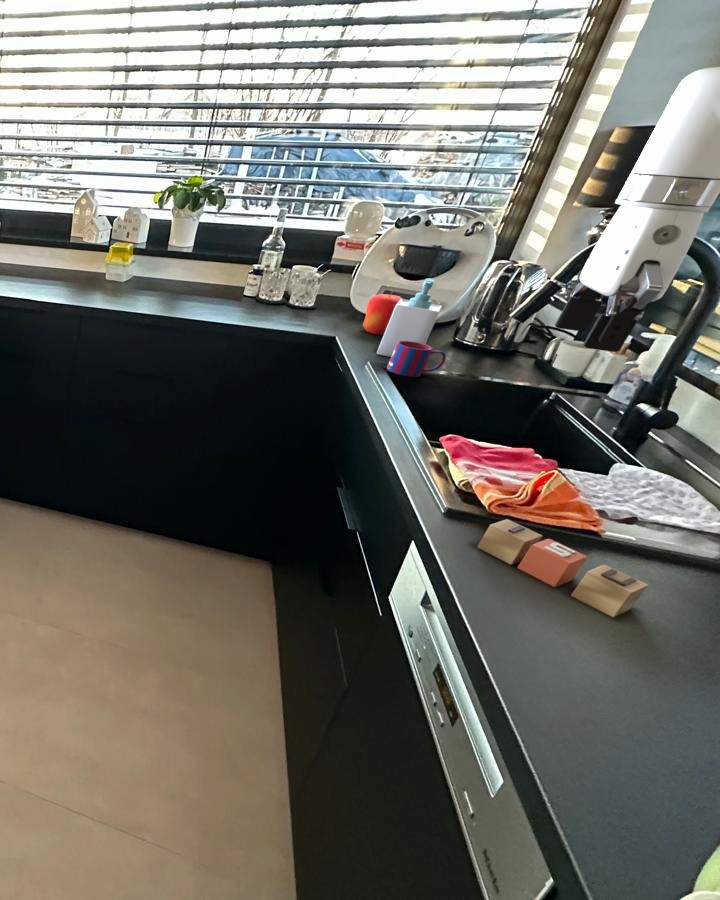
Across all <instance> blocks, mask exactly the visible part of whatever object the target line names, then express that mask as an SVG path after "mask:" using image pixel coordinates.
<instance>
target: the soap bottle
mask: <svg viewBox="0 0 720 900" xmlns="http://www.w3.org/2000/svg"><path fill="white" fill-rule="evenodd" d="M435 281H436V279H434V278H431V277H427V278H425V279H424V281H423V284H422V286H421V289H422V290H421V292H417V293H416V294H415V295H414V297H411V298H410V299H405V298H403V299H401V300H400V301H399V302H398V303H397V304H396V306H395V309H394V311H393V314H392V316H391V319H390V321H389V324H388V326H387V329H386V331H385V333H384V335H382V338H381V341H380V344H379V346H378V348H377V351H376V354H377V355H380V356H383V357H384V356H385V357H389V358H391V357H392V354H393V352H394V349H395V347H396V345H397V342H398V341H412V342H417V343H422V344H425V345H426V344H427V341H428V339H429V336H430V334H431V332H432V330H433V328H434V325H435V323H436V321H437V319H438V316H439V314H440V312H441V310H442V305H441V304H435V303H433V301H432V300H431V297H432V295H431V294H430V293H428V292H429V291H430V290H431V289H432V287H433V285H434V282H435Z"/></svg>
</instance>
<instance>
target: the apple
mask: <svg viewBox="0 0 720 900" xmlns="http://www.w3.org/2000/svg"><path fill="white" fill-rule="evenodd" d="M393 293H394V291H391V293H390V294H384V293H380V294H375V295H373V296H371V298H370V299H369V300H368V303H367V306H366V312H365V317H364V320H363V323H362V326H363V328H364V329H365V331H366V332H367V333H370V334H375V335H379V336H384V333H385V331H386V329H387V326H388V324H389V321H390V319H391V316H392V314H393V311H394V309H395V306H396V304H397V303H398V302H399V301H400V300H401V299H404V298H403V297H401V296H399V295H394V294H393Z"/></svg>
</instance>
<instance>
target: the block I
mask: <svg viewBox="0 0 720 900" xmlns="http://www.w3.org/2000/svg"><path fill="white" fill-rule="evenodd" d="M542 538H543V535H542V534H540V533H538V532H536V531H534V530H531V528H528V527H525V526H523V525H521V524H519V523H517V522H515V521H512V520H511V519H508V518H506V519H503V520H500V521H498V522H495V523H491V524H489V526H488V527H487V530H486V531H485V533H484V535H483V537H482V538H481V539H480V542H479V543H478V545H477V548H478V549H479V550H481V551H484V552H485V553H487V554H490V555H491V556H493V557H495V558H496V559H499V560H501V561H502V562H505V563H506V564H509V565H511V566H513V565H515V564H518V563H521V561H522V560H523V558H524V557H525V555H526V553H527V552H528V550H529V549H530V547H531V545H533V544H536V543H538V542H541V539H542Z"/></svg>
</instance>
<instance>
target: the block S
mask: <svg viewBox="0 0 720 900" xmlns="http://www.w3.org/2000/svg"><path fill="white" fill-rule="evenodd" d="M587 559H588V555H585V554H583V553H581V552H578V551H577V550H575V549H572V548H571V547H568V546H566V545H564V544H562V543H560V542H558V541H555V540H553V539H551V538H547V539H544V540H540V541H539V542H538V543H536V544H533V545H531V547H530V549H529V550H528V552H527V553H526V555H525V557H524V558H523V560H522V561H520V562H519V564H518V566H517V569H519V570H520V571H522V572H523V573H526V574H528V575H530V576H532V577H534V578H536V579H538V580H540V581H541V582H543V583H546V584H548V585H550V586H551V587H554V588H557V587H559V586H561V585H564V584H566V583H568V582H571V581H573V579H574V577H575V576H576V575H577V573H578V571H580V569H581V567H582V566H583V564H584V563H585V561H586V560H587Z"/></svg>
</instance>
